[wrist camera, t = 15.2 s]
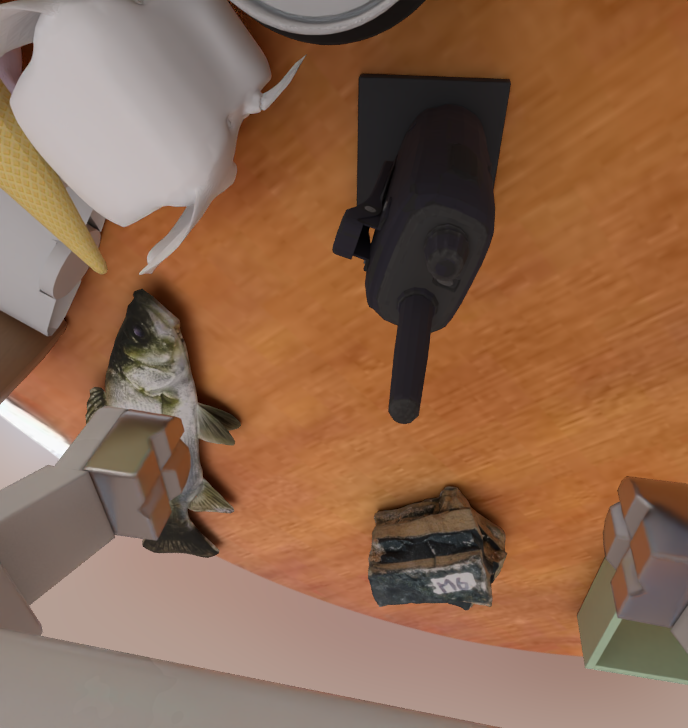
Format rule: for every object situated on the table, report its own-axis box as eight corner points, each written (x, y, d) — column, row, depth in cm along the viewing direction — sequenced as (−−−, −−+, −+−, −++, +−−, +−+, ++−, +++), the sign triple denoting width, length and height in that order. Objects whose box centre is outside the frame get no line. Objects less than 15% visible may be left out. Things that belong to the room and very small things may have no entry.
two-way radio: (446, 230, 27) (430, 478, 15) (355, 197, 26) (267, 423, 15) (501, 110, 23) (536, 311, 11) (397, 71, 23) (325, 236, 11)
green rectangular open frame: (753, 566, 38) (779, 624, 35) (701, 634, 43) (719, 690, 40) (609, 546, 39) (622, 601, 36) (576, 615, 45) (584, 668, 41)
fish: (249, 294, 31) (67, 259, 31) (237, 321, 29) (43, 285, 29) (236, 551, 48) (117, 529, 48) (227, 580, 46) (104, 557, 46)
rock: (398, 568, 45) (391, 640, 40) (367, 488, 40) (354, 561, 35) (513, 565, 42) (519, 643, 38) (496, 480, 37) (500, 557, 33)
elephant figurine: (358, 102, 24) (314, 177, 17) (168, 238, 30) (78, 336, 23) (203, -143, 20) (67, -171, 13) (17, 68, 26) (-147, 125, 19)
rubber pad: (510, 78, 23) (511, 82, 22) (487, 221, 27) (487, 226, 26) (360, 73, 24) (358, 76, 23) (358, 212, 27) (356, 217, 27)
